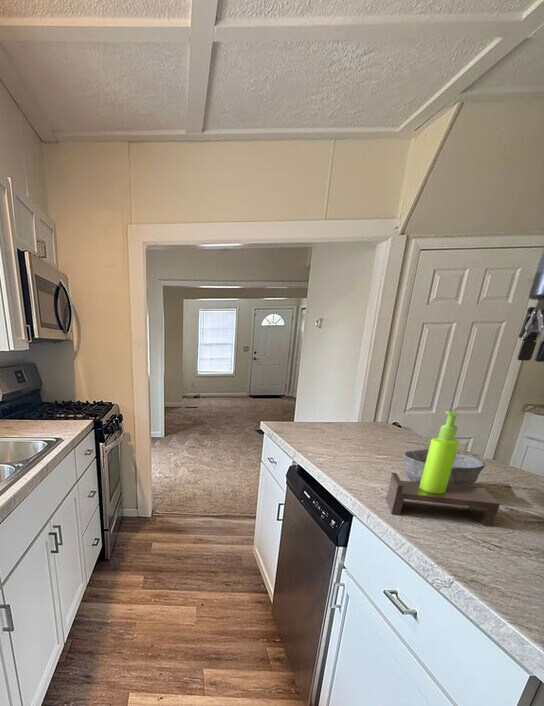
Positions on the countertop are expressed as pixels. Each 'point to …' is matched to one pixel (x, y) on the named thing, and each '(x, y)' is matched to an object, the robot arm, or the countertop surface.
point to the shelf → (444, 498)
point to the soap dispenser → (440, 457)
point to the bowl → (461, 472)
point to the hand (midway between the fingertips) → (532, 361)
